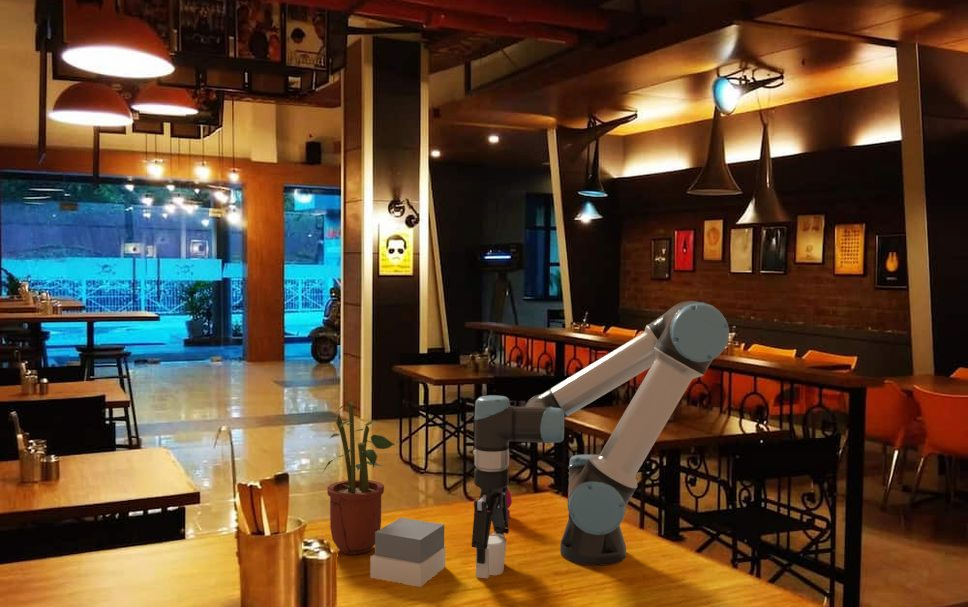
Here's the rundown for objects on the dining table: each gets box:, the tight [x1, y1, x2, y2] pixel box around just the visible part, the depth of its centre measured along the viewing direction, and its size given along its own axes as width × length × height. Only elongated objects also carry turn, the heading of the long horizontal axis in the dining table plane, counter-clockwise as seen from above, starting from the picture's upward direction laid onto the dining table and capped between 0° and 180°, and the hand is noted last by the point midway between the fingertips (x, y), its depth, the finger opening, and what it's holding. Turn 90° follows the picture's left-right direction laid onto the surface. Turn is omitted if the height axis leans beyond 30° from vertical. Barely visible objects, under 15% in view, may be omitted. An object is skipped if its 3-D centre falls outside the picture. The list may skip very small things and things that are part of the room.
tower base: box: [369, 545, 446, 588], centre depth 173 cm, size 12×12×5 cm
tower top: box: [374, 517, 445, 563], centre depth 173 cm, size 11×11×5 cm
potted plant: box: [322, 402, 396, 555], centre depth 188 cm, size 17×16×35 cm
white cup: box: [487, 534, 508, 576], centre depth 174 cm, size 7×7×7 cm
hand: (490, 569), depth 175 cm, fingers open, 8 cm apart
